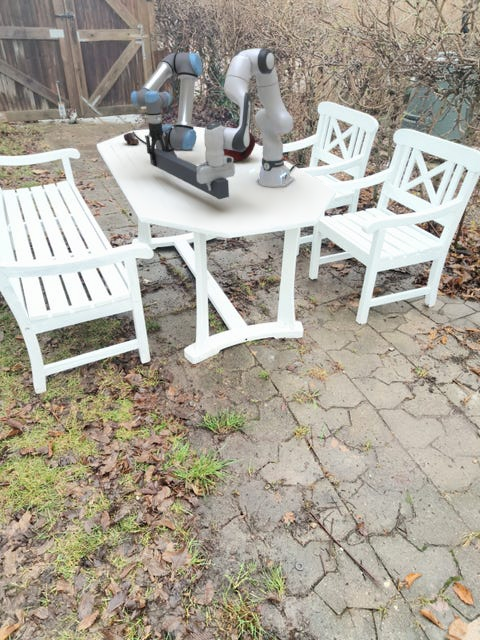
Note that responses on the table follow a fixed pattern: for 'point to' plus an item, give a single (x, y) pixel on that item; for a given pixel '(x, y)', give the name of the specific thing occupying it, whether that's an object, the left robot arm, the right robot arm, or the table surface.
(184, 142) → the left robot arm
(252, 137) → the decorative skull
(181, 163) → the post
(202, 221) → the table surface
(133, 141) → the rock
